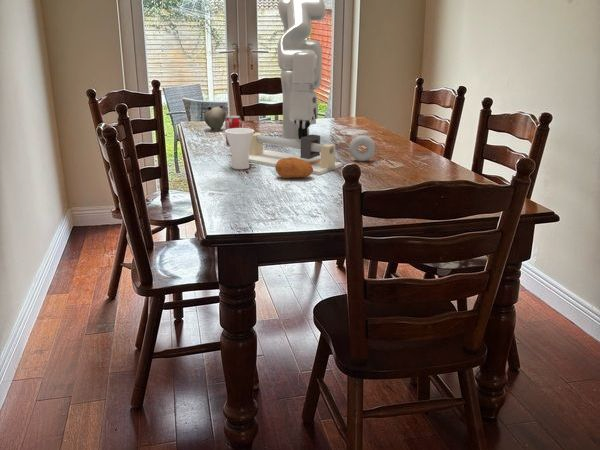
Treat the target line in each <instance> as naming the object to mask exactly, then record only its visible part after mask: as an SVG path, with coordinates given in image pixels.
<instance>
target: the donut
mask: <svg viewBox="0 0 600 450" xmlns="http://www.w3.org/2000/svg"><path fill="white" fill-rule="evenodd" d="M361 145H364V146H365V147H366V148H365V149H366V150H365V151H363V152H362V151H361V152H360V150H359V146H361ZM348 149H349V153H350V156H351V157H352V158H353V160H356V161H358V162H366V161H369V160H371V158H373V156H374V155H375V153H376V143H375V141H374V139H372V138H371V137H369V136H368V135H363V134H362V135H361V134H360V135H357V136H355V137H353V139H352V140H350V143H349V147H348Z"/></svg>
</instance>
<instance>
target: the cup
mask: <svg viewBox="0 0 600 450" xmlns="http://www.w3.org/2000/svg"><path fill="white" fill-rule="evenodd" d="M254 132H255V129H252V128H247V127H242V128H232V129H227V130H224V133H225V137H226V136H227V139H228V142H229V145H228V146H229V148H230V149H229V150H230V152H231V160H232V161H231V169H234V170H247V169H249V168H250V162H249V150H250V144H251V141H252V137H253V134H254Z"/></svg>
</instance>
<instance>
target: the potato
mask: <svg viewBox="0 0 600 450" xmlns="http://www.w3.org/2000/svg"><path fill="white" fill-rule="evenodd" d="M274 168H275V172H276V173H277V174H278V176H279V177H281V178H283V179H293V178H294V179H295V178H296V179H297V178H305V177H306V178H308V177H309V176H311V175H313V174H312V172H313V168H312V166H311V165H310V163H308V162H307V161H304V160H301V159H298V158H295V157H291V158H283V159H281V160H279V161H278V162H277V164H276V166H275V167H274Z"/></svg>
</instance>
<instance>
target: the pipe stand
mask: <svg viewBox="0 0 600 450" xmlns="http://www.w3.org/2000/svg"><path fill="white" fill-rule="evenodd" d="M264 144H268V145H272V146H278V147H284V148H290V149H291V148H292V149H296V150H301V141H298V140H291V139H285V138H279V137H276V136H270V135H264V133H260V132H255V133H254V134H253V137H252V141H251V144H250V150H249V163H253V164H256V165H257V164H258V165H262V166H263V165H264V166H268V167H272V168H276V167H275V166H276V164H277V162H278V161H279V160H281V159H283V158H291V157H295V158H298V159H301V160H304V161H307V162H308V163H310V165H311V166H312V168H313V172H312V174H311V175H316V176H321V175H324V174H325V173H328V172H331V171H333V170H336V169H338V168H342V167H343V164H344V163H343V162H339V161H336V144H333V143H325V144H322V143H320V144H317V143H314V142H311V152H313V151H314V152H320V158H316V157H314V158H311V159H304V158H301V155H298V154H294V153H293V154H292V153H287V152H280V151H274V150H269V149H264Z"/></svg>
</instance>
